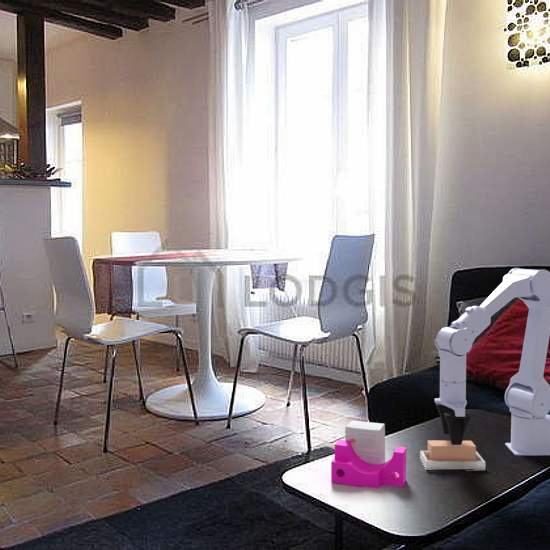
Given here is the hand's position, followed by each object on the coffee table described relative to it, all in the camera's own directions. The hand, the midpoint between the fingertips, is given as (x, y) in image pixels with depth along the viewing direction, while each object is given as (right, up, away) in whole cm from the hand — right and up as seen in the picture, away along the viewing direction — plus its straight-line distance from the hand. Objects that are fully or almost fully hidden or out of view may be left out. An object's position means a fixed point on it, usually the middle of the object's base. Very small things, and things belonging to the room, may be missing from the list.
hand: (452, 439), depth 147 cm
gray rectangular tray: (0, -7, 0) cm, 7 cm away
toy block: (-20, -8, -8) cm, 23 cm away
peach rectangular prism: (0, -6, 0) cm, 6 cm away
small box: (-20, -7, -2) cm, 21 cm away
